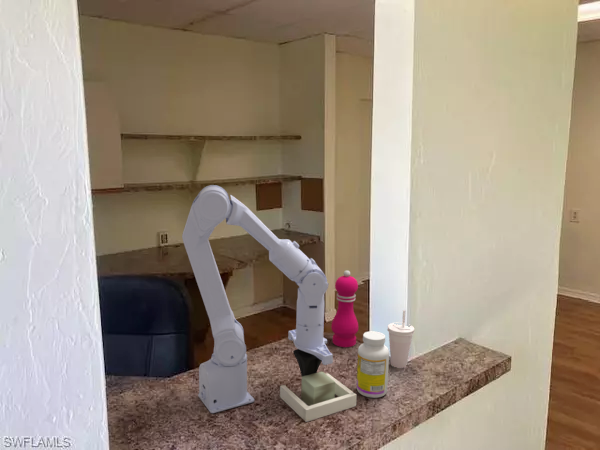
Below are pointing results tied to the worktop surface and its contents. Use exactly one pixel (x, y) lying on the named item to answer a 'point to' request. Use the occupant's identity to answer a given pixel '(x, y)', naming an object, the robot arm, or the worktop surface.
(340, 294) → the pepper mill
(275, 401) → the worktop surface
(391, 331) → the smoothie
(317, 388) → the block
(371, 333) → the supplement bottle
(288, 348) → the worktop surface
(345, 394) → the block
